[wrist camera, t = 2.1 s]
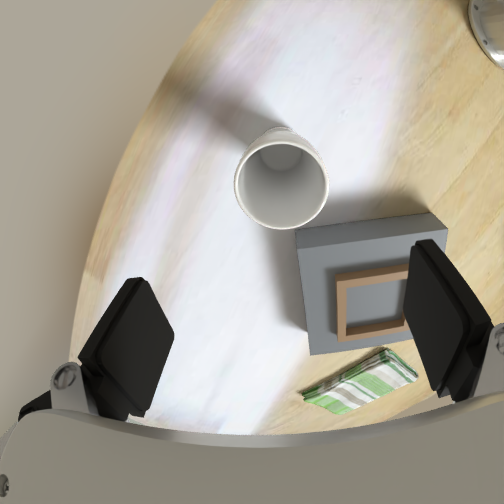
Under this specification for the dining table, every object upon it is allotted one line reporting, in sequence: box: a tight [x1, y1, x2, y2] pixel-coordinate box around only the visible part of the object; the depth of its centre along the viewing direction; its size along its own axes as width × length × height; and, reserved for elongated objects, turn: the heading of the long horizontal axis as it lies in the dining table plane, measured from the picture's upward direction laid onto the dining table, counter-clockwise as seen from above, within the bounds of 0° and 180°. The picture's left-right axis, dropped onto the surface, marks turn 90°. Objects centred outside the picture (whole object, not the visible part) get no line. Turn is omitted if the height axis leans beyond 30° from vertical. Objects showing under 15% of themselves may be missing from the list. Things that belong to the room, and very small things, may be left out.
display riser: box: [295, 213, 448, 355], centre depth 37 cm, size 20×20×6 cm
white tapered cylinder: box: [234, 127, 329, 229], centre depth 25 cm, size 7×7×15 cm
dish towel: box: [302, 348, 418, 415], centre depth 54 cm, size 17×23×4 cm
